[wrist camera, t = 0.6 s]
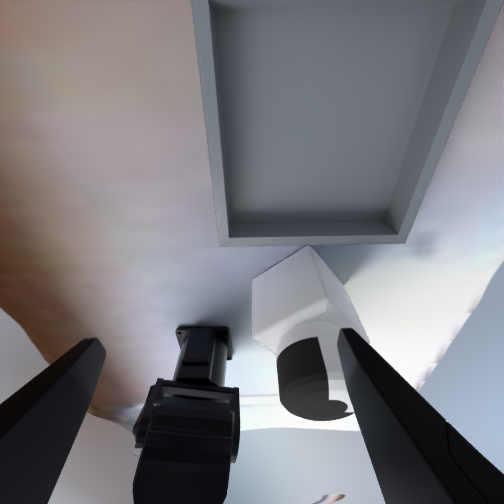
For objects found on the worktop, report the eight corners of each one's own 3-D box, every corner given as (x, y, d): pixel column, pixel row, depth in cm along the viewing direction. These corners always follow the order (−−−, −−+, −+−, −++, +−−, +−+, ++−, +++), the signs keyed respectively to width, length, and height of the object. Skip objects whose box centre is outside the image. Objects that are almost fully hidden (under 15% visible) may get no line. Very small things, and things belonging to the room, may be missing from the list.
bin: (387, 225, 21) (404, 243, 19) (223, 228, 21) (219, 246, 19) (468, -14, 13) (518, -37, 11) (199, -6, 13) (187, -27, 11)
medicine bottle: (289, 314, 28) (309, 438, 18) (250, 279, 25) (249, 405, 15) (344, 285, 26) (403, 411, 16) (308, 242, 22) (354, 365, 13)
